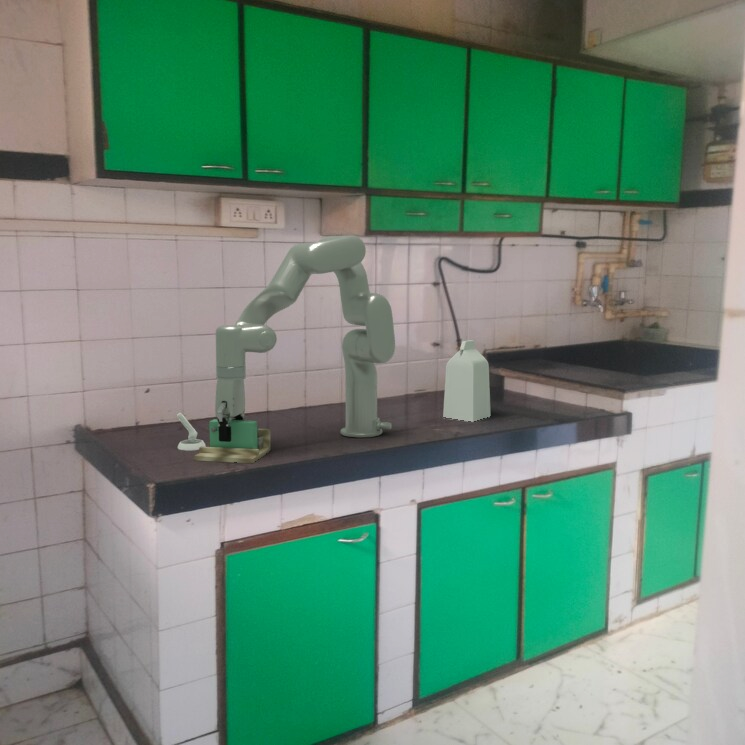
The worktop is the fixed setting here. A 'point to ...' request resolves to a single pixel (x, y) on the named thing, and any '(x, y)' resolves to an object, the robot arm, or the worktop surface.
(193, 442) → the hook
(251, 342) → the robot arm
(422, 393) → the worktop surface
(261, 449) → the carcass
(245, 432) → the door
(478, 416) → the milk
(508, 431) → the worktop surface
